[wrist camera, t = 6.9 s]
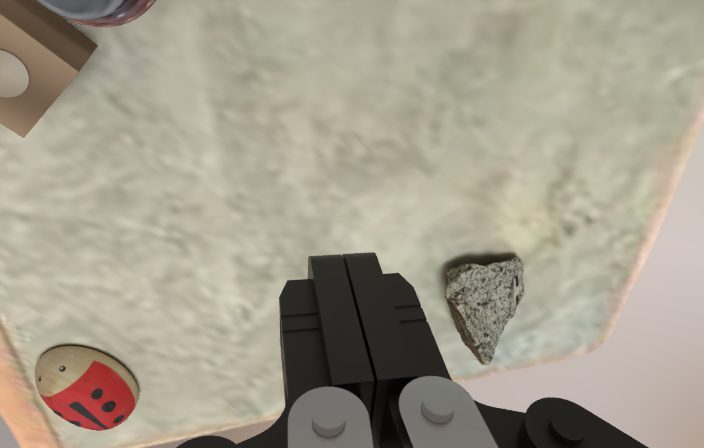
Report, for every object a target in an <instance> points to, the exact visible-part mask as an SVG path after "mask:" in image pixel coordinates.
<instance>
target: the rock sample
mask: <svg viewBox="0 0 704 448" xmlns="http://www.w3.org/2000/svg"><path fill="white" fill-rule="evenodd" d="M522 275H523V263H522V262H521V261H520V259H519V258H517V257H514V258H511V259H507V260H504V261H501V262H498V263H496V262H495V263H491V264H489V265H485V266H481V265H478V264H474V263H473V264H465V263H464V264H461V265H458V266H455V267H454V268H452V269H450V270H448V271H447V272H446V276H448V285H447V290H446V298H447V302H448V305H449V308H450V312H451V315H452V318H453V319H454V323H455V325H456V328H457V330H458V332H459V334H460V335H461V338H462V341H463V342H464V343H465V345H466V346H467V347H468V348H469V349H470V350H471V351H472V353H473V354H474V355H475V356H476V358H478V360H479V362H480V363H481V364H482V365H489V364H490V362H491V361H492V358H493V355H494V352H495V347H496V345H497V342H498V339H499V337H500V336H501V334H502V332H503V330H504V327H505V325H506V324H507V322H508V321H509V320H510V319H511V318H512V317H513V315H514V314H515V312H516V308H517V305H518V304H519V302H520V300H521V299H522V298H523V296H524V284H523V277H522ZM473 359H474V358H473ZM476 360H477V359H476Z"/></svg>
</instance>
